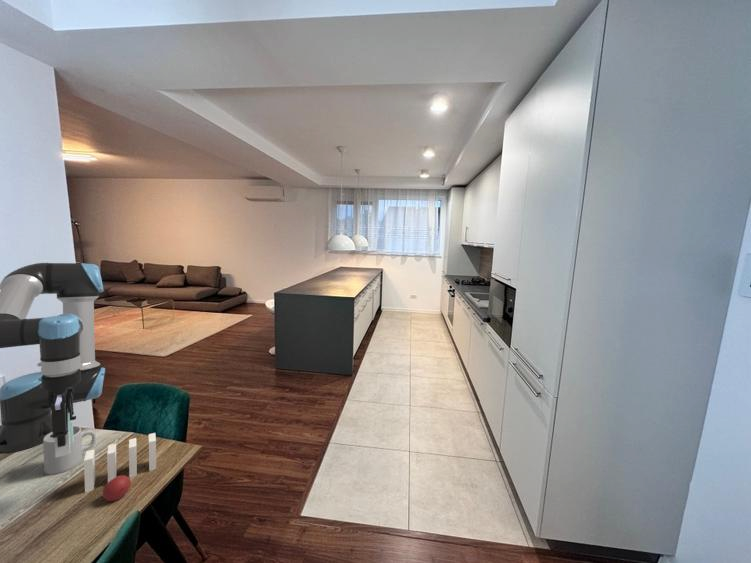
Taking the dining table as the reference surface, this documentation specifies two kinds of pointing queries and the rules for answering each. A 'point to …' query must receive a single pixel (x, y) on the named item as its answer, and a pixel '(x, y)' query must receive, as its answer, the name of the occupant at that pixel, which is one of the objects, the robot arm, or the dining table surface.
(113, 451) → the domino
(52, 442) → the mug
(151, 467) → the domino
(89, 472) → the domino
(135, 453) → the domino
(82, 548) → the dining table surface
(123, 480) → the fruit
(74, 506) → the dining table surface
